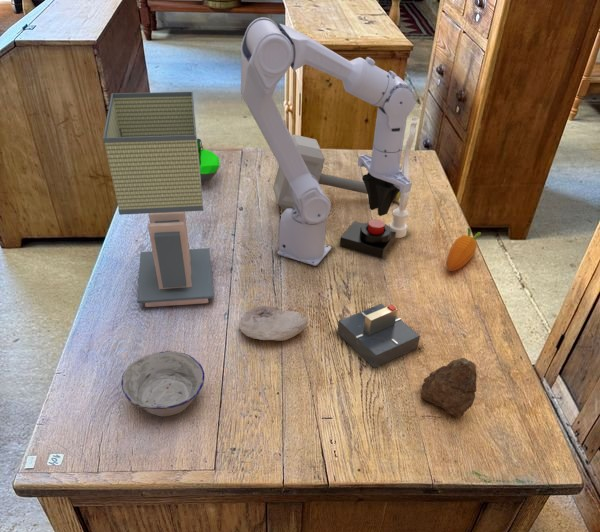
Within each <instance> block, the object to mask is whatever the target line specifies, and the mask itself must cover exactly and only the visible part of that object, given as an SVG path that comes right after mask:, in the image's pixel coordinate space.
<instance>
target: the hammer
mask: <svg viewBox="0 0 600 532" xmlns="http://www.w3.org/2000/svg"><path fill="white" fill-rule="evenodd" d="M291 136H292V138H293V140H294V142H295V144H296V146H297V148H298V150H299V152H300V154H301V156H302V158H303V160H304V162H305V164H306V166H307V168H308V170H309V172H310V174H311V175H313V176H314V177H315V178H316V179H317V180H318V182H319V185H323V186H328V187H334V188H339V189H342V190H347V191H352V192H357V193H361V194H366V195H368V193H367V189H366V186H365V184H364V181H360V180H355V179H350V178H346V177H339V176H336V175H335V176H334V175H331V174H326V173H323V169H324V163H325V161H326V159H325V158H326V157H325V156H324V154H323V152H322V149H321V147H320V144H319V142H318V140H317V139H315V138H311V137H306V136H302V135H299V134H291ZM272 189H273V194H274V196H275V200H276V203H277V206H278V207H279V209H284V210H286V209H287V208H292V209H293V207H294V205H295V201H294V200H293V199H292V197H291V194H290V184H289V182H288V180H287V178H286V177H285V175H284V173H283V171H282V169H281V167H280V166H279V165H278V167H277V172H276V175H275V179H274V183H273V186H272ZM400 195H401V193H400V191H399V192H398V194H397V195H396V197H395V198H394V200H393V202H395V203H396V202H398V201H399V200H400Z"/></svg>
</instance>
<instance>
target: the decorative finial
mask: <svg viewBox="0 0 600 532" xmlns="http://www.w3.org/2000/svg"><path fill="white" fill-rule="evenodd" d="M417 125H418V116H412V117H411V123H410V125H409V135H408V137H407V140H406V143H405V146H404V149H403V157H402V169H401V171H402V173H403V174H404V175H405V177H406V178H407V179H408V180H409V181H410V155H411V149H412V146H413V144H414V141H415V138H416V131H417ZM409 197H410V192H407V193H404V194H402V193H401V195H400V198H399V207H396V208H395V209H393V210H392V221H391V222H390V223H389V224H388V226H389V227H390V229H391V231H393V232H396V236H395V239H401V238H405V237H406V236H407V231H408V225H407V224H406V220H407V219H408V218H409V211H408V209H407V206H408V203H409Z"/></svg>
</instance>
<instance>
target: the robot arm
mask: <svg viewBox="0 0 600 532" xmlns="http://www.w3.org/2000/svg"><path fill="white" fill-rule="evenodd" d="M279 26H280V27H279ZM279 26H278V24H277V23H276V22H275V20H272V19H271V18H269V17H258V18H256V19H254V20H253V21H251V22H250V23H249V25H248V26H247V28H246V30H245V32H244V35H243V38H242V41H241V44H240V55H241V57H240V58H241V67H240V68H241V69H240V71H241V72H240V93H241V96H242V99H243V100H244V103H245V104H246V106H247V108H248V111H249V112H250V114H251V116H252V117H253V120H254V121H255V123H256V125H257V127H258V129H259V130H260V132H261V134H262V137H263V138H264V139H265V141H266V143H267V145H268V147H269V149H270V151H271V152H272V155H273V156H274V158H275V160H276V162H277V164H278V167H279V166H280V167H281V169H282V171H283V173H284V175H285V177H286V178H287V180H288V182H289V184H290V194H291V197H292V199H293V200H294V201H295V205H294V207H293V209H292V208H287V209H284V211H283V212H282V214H281V217H280V219H279V224H278V250H277V251H276V254H277V255H278V256H282V257H285V258H288V259H290V260H294V261H297V262H301V263H304V264H307V265H310V266H313V267H314V266H315V267H316V266H318V265H319V264H320V263H321V262H322V260H323V259H324V258H325V257H326V256H327V255H328V253H329V252H330V251H331V250H332V246H330V245H327V244H326V231H327V218H328V217H329V215H330V213H331V210H332V203H331V200H330V199H329V197H328V196H327V195H326V193H325V192H324V190H323V188H322V187H321V184H319V182H318V180H317V179H316V178H315V177H314V176H313V175H311V174H310V172H309V170H308V168H307V166H306V164H305V162H304V160H303V158H302V156H301V154H300V152H299V150H298V148H297V146H296V144H295V142H294V140H293V138H292V136H291V135H292V134H291V132H290V130H289V128H288V126H287V125H286V122H285V121H284V118H283V116H282V114H281V112H280V111H279V109H278V107H277V104H276V102H275V100H274V98H273V95H274V92H275V89H276V87H277V85H278V84H279V82H280V81H281V80H282V78H283V77H284V76H285V74H286V73H287V71H289V69H290V68H291V69H292V70H293V71H296V70H298V69H300V68H302V67H304V66H308V67H311V68H313V69H315V70H318V71H320V72H323V73H325V74H326V75H328V76H331V77H333V78H335V79H338V80H340V81H341V82H342V86H343V89H344V91H345V92H346V93H347V94H349V95H352V96H353V97H355V98H358V99H360V100H362V101H363V102H365V103H368V104H370V105H371V106H373V107H377V109H376V110H377V111H376V120H375V127H374V134H373V141H372V142H373V143H372V150H371V155H368V154H362V155H358V159H357V166H359V167H360V168H365V169H366V170H367V173H366V174H363V175H362V182H364V184H365V186H366V189H367V193H368V194H367V199H368V208H369V210H371V211H373V210H376V209H377V216H379V217H382V216H385V215H388V213H389V212H390V211H389V210H390V208H391V206H392V204H393V202H394V201H393V200H394V198H395V197H396V195H397V194H398V192H399V191H400V193H402V194H404V193H407V192H409V193H410V192H411V190H412V183H413V182H412V181H411V180H410V179H409V180H408V179H407V178H406V177H405V175H404V174H403V173H402V170H403V165H401V159H402V152H403V147H404V139H405V133H406V127H407V122H408V121H407V120H408V117H409V115H410V114H411V113H412V111H413V110H414V108H415V106H416V103H417V101H416V100H415V94H414V93H415V92H414V91H413V89H412V87H411V86H410V85H409V84H408V83H406V82H405V80H403V79H402V78H401V77H400V76H398V75H397V73H395V72H394V71H392V70H389V71H386V70H384V69H383V68H381V67H379V66H378V65H376V61H375V60H374V59H373V58H371V57H370V56H366V57H365V59H364V58H363V57H356V58H354V59H351V60H349V59H346V58H345V57H343V56H342V55H340V54H338V53H336V52H335V51H334V50H332V49H330V48H328V47H326V46H325V45H323V44H322V43H320V42H318V41H316V40H315V39H313V38H311V37H309V36H308V35H306V34H304V33H302V32H301V31H299V30H297V29H294V28H292V27H290V26H288V25H286V24H283V23H279ZM280 28H281V29H280Z"/></svg>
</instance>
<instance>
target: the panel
mask: <svg viewBox="0 0 600 532" xmlns="http://www.w3.org/2000/svg"><path fill="white" fill-rule="evenodd" d="M385 307H386V306H385V305H384V304H382V303H380V304H377V305H375V306H372V307H369V308H367V309H365V310H362V311H359V312H356V313H355V314H352V315H350V316H347V317H345V318H342V319H339V320H338V325H337V335H338V336H339V337H341V338H342V339H343V340H344V341H345V342H346V343H347V344H348V345H349V346H350V347H351V348H352V349H353V350H354V351H355V352H357V353H358V354H359V356H361V357H362V358H363V359H364V360H365V361H366V362H367V363H368V364H369V365H370V366H371V367H372V368H373V369H375V368H377V367H379V366H382V365H384V364H386V363H388V362H391V361H393V360H395V359H397V358H399V357H402V356H404V355H407V354H409V353H410V352H413V351H415V350H417V349H418V347H419V343H420V338H421V335H420V334H418V333H417V332H416V331H415V330H414V329H412V328H411V327H410V326H409V325H408V324H407V323H405V322H404V320H402V318H401V317H398V316H397V315H396V320H395V325H393V326H391V327H388V328H386V329H384V330H381V331H379V332H377V333H374V334H372V335H370V336H368V335H367V334H366V333H365V332H364V331H363V329H364V322H365V316H366V315H368V314H371V313H373V312H376V311H378V310H380V309H383V308H385Z"/></svg>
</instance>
